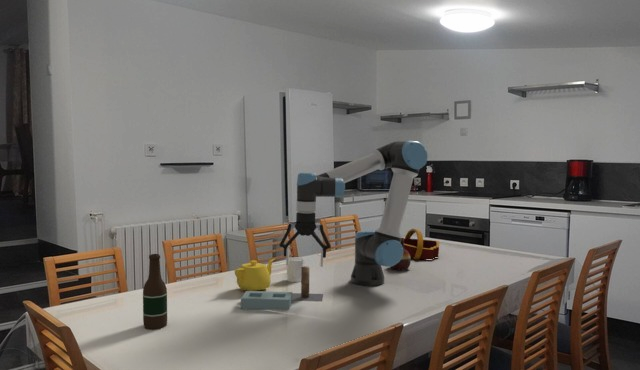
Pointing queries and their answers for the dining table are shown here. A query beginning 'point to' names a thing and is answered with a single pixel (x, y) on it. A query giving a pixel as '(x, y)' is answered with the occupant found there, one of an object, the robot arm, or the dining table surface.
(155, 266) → the beer bottle
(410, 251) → the decorative basket
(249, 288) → the teapot
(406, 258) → the vase
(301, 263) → the white cup
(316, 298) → the mat
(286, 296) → the hole block
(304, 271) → the peg
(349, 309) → the dining table surface
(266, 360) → the dining table surface
